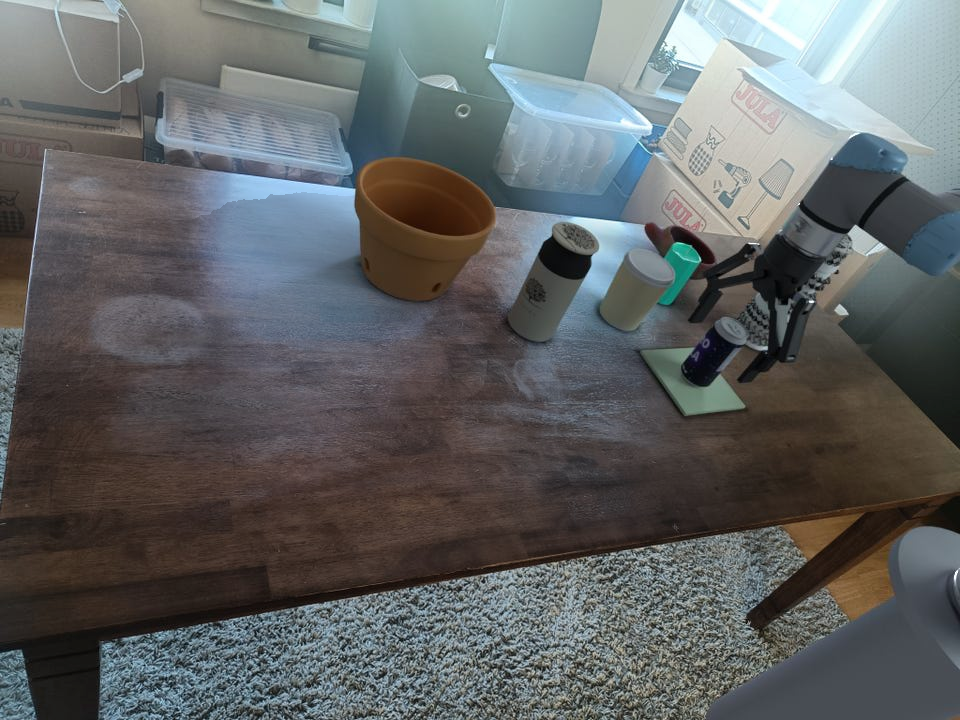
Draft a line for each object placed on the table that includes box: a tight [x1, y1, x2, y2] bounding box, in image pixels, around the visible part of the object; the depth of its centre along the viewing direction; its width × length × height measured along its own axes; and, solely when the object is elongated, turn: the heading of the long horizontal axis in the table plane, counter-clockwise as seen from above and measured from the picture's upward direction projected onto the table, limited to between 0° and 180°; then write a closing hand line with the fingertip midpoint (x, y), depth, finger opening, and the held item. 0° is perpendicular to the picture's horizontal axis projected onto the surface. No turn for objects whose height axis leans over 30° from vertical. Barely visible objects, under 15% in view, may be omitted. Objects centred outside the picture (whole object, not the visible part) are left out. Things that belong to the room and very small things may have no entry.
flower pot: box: [353, 156, 497, 302], centre depth 97 cm, size 21×21×15 cm
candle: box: [657, 242, 701, 306], centre depth 120 cm, size 6×6×12 cm
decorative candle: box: [734, 233, 855, 352], centre depth 116 cm, size 9×9×25 cm
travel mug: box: [507, 221, 601, 343], centre depth 97 cm, size 8×8×18 cm
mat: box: [639, 347, 746, 417], centre depth 107 cm, size 14×14×1 cm
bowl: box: [644, 221, 718, 281], centre depth 130 cm, size 16×13×8 cm
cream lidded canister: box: [599, 248, 675, 332], centre depth 110 cm, size 9×9×12 cm
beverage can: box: [681, 316, 748, 387], centre depth 103 cm, size 6×6×12 cm
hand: (718, 350), depth 102 cm, fingers open, 13 cm apart
